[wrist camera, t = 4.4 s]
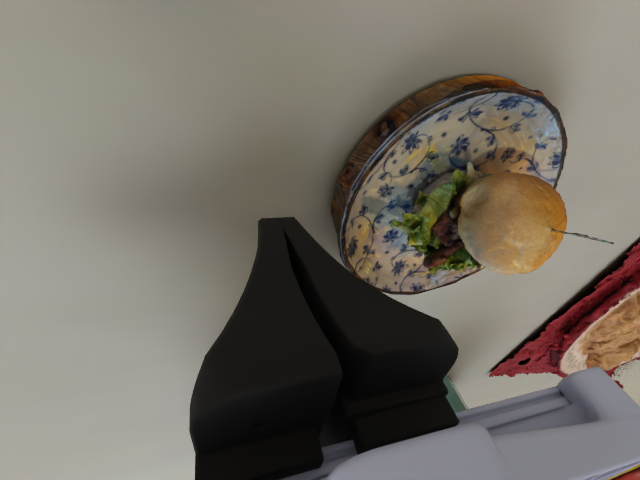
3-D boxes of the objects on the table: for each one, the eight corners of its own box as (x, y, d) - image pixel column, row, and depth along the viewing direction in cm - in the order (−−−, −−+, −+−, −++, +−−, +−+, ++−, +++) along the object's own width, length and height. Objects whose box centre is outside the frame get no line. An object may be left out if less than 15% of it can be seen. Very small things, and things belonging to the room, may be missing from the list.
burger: (281, 226, 16) (324, 366, 10) (480, -2, 12) (733, 22, 6) (415, 296, 23) (483, 402, 17) (568, 169, 18) (722, 254, 13)
